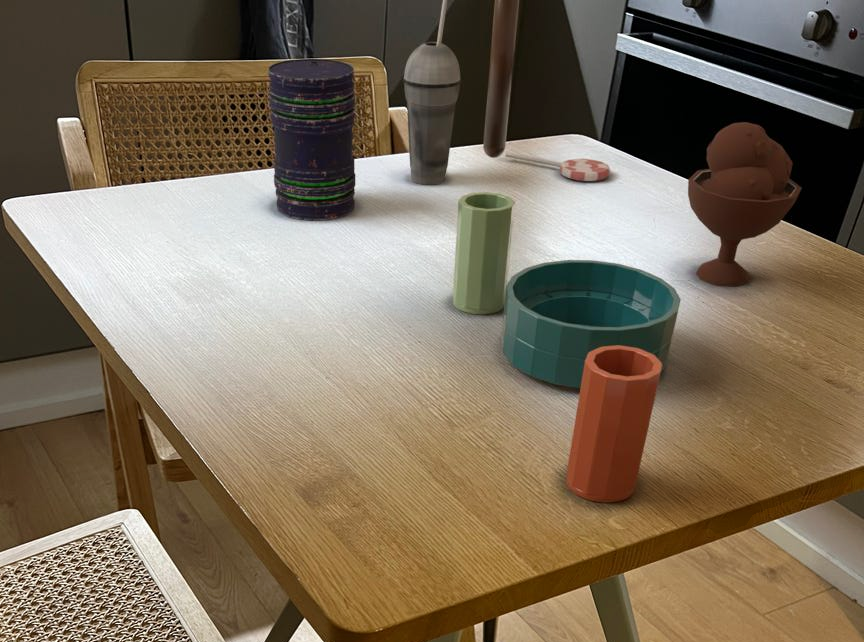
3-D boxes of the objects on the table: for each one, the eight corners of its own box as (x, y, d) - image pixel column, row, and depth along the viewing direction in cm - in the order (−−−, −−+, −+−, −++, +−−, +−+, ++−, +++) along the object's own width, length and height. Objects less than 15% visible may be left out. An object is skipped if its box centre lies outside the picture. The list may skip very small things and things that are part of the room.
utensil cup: (638, 472, 75) (665, 351, 69) (629, 508, 72) (657, 384, 65) (572, 460, 76) (592, 340, 70) (560, 495, 73) (580, 372, 66)
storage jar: (352, 222, 115) (350, 80, 105) (270, 219, 115) (260, 78, 105) (359, 194, 122) (358, 59, 112) (281, 191, 123) (274, 57, 113)
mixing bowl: (673, 334, 94) (687, 272, 90) (655, 407, 83) (670, 341, 79) (520, 311, 97) (526, 251, 93) (483, 379, 86) (488, 314, 82)
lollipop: (517, 144, 135) (618, 163, 129) (516, 152, 136) (616, 171, 130) (495, 156, 131) (598, 176, 125) (494, 164, 132) (597, 185, 126)
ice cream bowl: (739, 305, 99) (782, 146, 89) (649, 273, 105) (679, 120, 95) (794, 278, 104) (839, 125, 94) (705, 249, 110) (739, 102, 100)
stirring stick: (506, 155, 89) (531, -104, 76) (501, 161, 88) (525, -102, 75) (485, 153, 89) (506, -105, 77) (480, 159, 88) (500, -103, 75)
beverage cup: (405, 168, 130) (409, -8, 117) (458, 172, 129) (469, -5, 116) (396, 186, 125) (399, 3, 111) (452, 189, 124) (462, 6, 111)
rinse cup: (509, 297, 100) (519, 195, 93) (497, 317, 96) (507, 213, 89) (460, 290, 101) (467, 189, 94) (447, 310, 97) (453, 206, 90)
